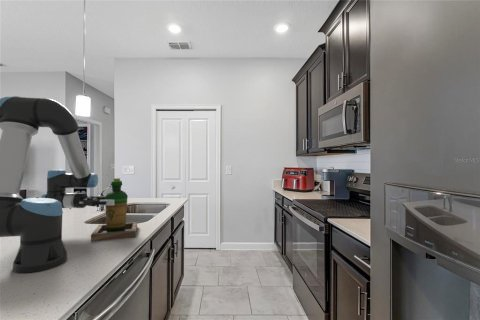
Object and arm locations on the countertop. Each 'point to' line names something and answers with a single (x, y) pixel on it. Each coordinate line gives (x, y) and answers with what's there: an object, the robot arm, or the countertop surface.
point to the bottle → (116, 207)
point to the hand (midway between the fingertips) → (119, 200)
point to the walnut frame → (102, 233)
